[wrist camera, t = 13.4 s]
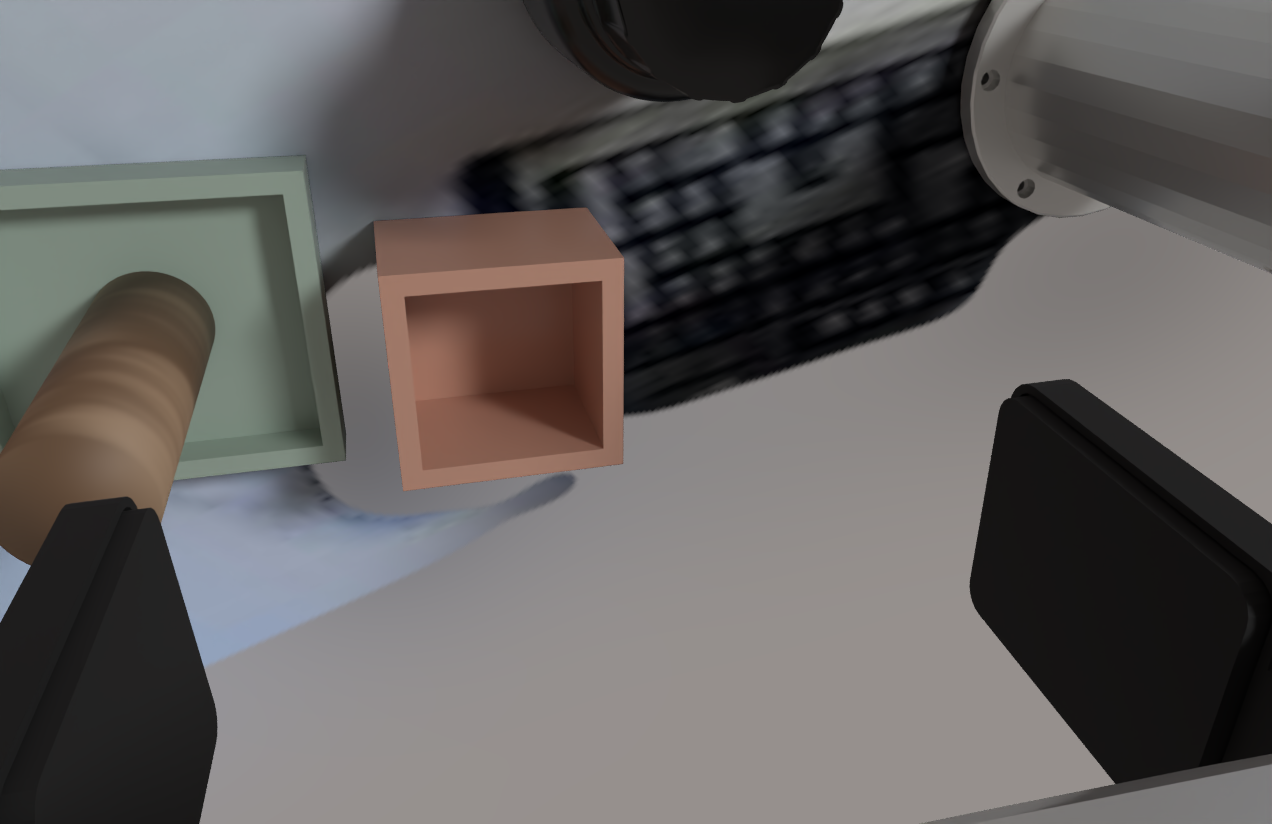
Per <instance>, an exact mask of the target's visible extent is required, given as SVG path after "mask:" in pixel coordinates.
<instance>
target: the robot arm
mask: <svg viewBox="0 0 1272 824" xmlns="http://www.w3.org/2000/svg"><path fill="white" fill-rule="evenodd" d="M982 78H983V79H982ZM981 80H982V81H981ZM960 114H961V121H962V128H963V135H964V140H965V143H966V146H967V148H968V151H969V154H970V157H971V160H972V162H973V164H974V165H975V167H976V169H977V170H978V172H979V173H980V175H981V177H982V178H983V180H984V181H985V182H986V183H987V184H988V185H989V186H990V187H991V188H992V189H993V190H994V191H995V192H996V193H997V194H998V195H999V196H1001V197H1002V198H1004V199H1006V200H1008V201H1009V202H1011V203H1013V204H1015V205H1017V206H1018V207H1021V208H1023V209H1026V210H1028V211H1031V212H1033V213H1036V214H1038V215H1044V216H1051V217H1058V218H1062V217H1076V216H1084V215H1088V214H1091V213H1095V212H1099V211H1102V210H1105V209H1107V208H1110V207H1114V208H1116V209H1119V210H1121V211H1123V212H1126V213H1128V214H1130V215H1133V216H1135V217H1138V218H1140V219H1143V220H1145V221H1147V222H1150V223H1152V224H1154V225H1157V226H1159V227H1162V228H1164V229H1166V230H1169V231H1171V232H1173V233H1176V234H1178V235H1180V236H1183V237H1185V238H1188V239H1190V240H1192V241H1195V242H1197V243H1200V244H1202V245H1204V246H1207V247H1209V248H1211V249H1214V250H1216V251H1218V252H1221V253H1223V254H1226V255H1228V256H1231V257H1233V258H1235V259H1237V260H1240V261H1242V262H1245V263H1247V264H1249V265H1252V266H1254V267H1257V268H1259V269H1261V270H1264V271H1266V272H1269V273H1271V274H1272V0H992V1H991V2H990V4H989V6H988V8H987V10H986V12H985V14H984V15H983V17H982V19H981V21H980V23H979V25H978V27H977V30H976V32H975V35H974V38H973V41H972V44H971V46H970V49H969V52H968V55H967V59H966V64H965V69H964V74H963V79H962V84H961V110H960ZM970 594H971V598H972V602H973V604H974V607H975V609H976V610H977V612H978V613H979V615H980V616H981V617H982V619H983V620H984V621H985V622H986V624H987V625H988V626H989V627H990V629H991V630H992V631H993V632H994V634H995V635H996V636H997V637H998V639H999V640H1000V641H1001V642H1002V643H1003V645H1004V646H1005V647H1006V649H1007V650H1008V651H1009V652H1010V653H1011V655H1012V656H1013V657H1014V658H1015V660H1016V661H1017V662H1018V663H1019V664H1020V666H1021V667H1022V668H1023V670H1024V671H1025V672H1026V673H1027V675H1028V676H1029V677H1030V678H1031V679H1032V681H1033V682H1034V683H1035V684H1036V686H1037V687H1038V688H1039V689H1040V691H1041V692H1042V693H1043V694H1044V696H1045V697H1046V698H1047V699H1048V701H1049V702H1050V703H1051V704H1052V705H1053V707H1054V708H1055V709H1056V711H1057V712H1058V713H1059V714H1060V715H1061V717H1062V718H1063V719H1064V720H1065V722H1066V723H1067V724H1068V725H1069V727H1070V728H1071V729H1072V730H1073V732H1074V733H1075V734H1076V735H1077V737H1078V738H1079V739H1080V740H1081V741H1082V743H1083V744H1084V745H1085V747H1086V748H1087V749H1088V750H1089V751H1090V753H1091V754H1092V755H1093V757H1094V758H1095V759H1096V760H1097V761H1098V763H1099V764H1100V765H1101V766H1102V768H1103V769H1104V770H1105V771H1106V772H1107V774H1108V775H1109V776H1110V778H1111V779H1112V780H1113V781H1114V783H1115V784H1114V785H1109V786H1104V787H1100V788H1094V789H1089V790H1084V791H1079V792H1074V793H1069V794H1064V795H1059V796H1054V797H1049V798H1044V799H1039V800H1034V801H1029V802H1025V803H1019V804H1014V805H1009V806H1004V807H1000V808H994V809H989V810H984V811H980V812H975V813H970V814H965V815H960V816H955V817H950V818H946V819H941V820H936V821H931V822H927V823H921V824H1272V524H1271V523H1270V522H1268V521H1267V520H1265V519H1264V518H1263V517H1261V516H1260V515H1259V514H1257V513H1256V512H1254V511H1253V510H1252V509H1250V508H1249V507H1248V506H1246V505H1245V504H1243V503H1242V502H1241V501H1239V500H1238V499H1236V498H1235V497H1234V496H1232V495H1231V494H1230V493H1228V492H1227V491H1225V490H1224V489H1223V488H1221V487H1220V486H1219V485H1217V484H1216V483H1214V482H1213V481H1212V480H1210V479H1209V478H1207V477H1206V476H1205V475H1203V474H1202V473H1200V472H1199V471H1198V470H1196V469H1195V468H1194V467H1192V466H1191V465H1190V464H1188V463H1186V462H1185V461H1184V460H1182V459H1181V458H1180V457H1179V456H1177V455H1176V454H1174V453H1173V452H1172V451H1170V450H1169V449H1168V448H1166V447H1164V446H1163V445H1162V444H1161V443H1159V442H1158V441H1156V440H1155V439H1154V438H1152V437H1151V436H1150V435H1148V434H1147V433H1145V432H1144V431H1143V430H1141V429H1140V428H1138V427H1137V426H1136V425H1134V424H1133V423H1132V422H1130V421H1129V420H1127V419H1126V418H1125V417H1123V416H1122V415H1121V414H1119V413H1118V412H1116V411H1115V410H1114V409H1112V408H1111V407H1109V406H1108V405H1107V404H1105V403H1104V402H1103V401H1101V400H1100V399H1098V398H1097V397H1096V396H1094V395H1093V394H1092V393H1090V392H1089V391H1087V390H1086V389H1085V388H1083V387H1082V386H1080V385H1079V384H1078V383H1076V382H1074V381H1072V380H1070V379H1062V380H1055V381H1046V382H1039V383H1031V384H1022V385H1020V386H1019V387H1017V388H1016V389H1015V391H1014V392H1013V394H1012V396H1011V398H1008V399H1006V400H1005V401H1004V402H1003V403H1002V405H1001V407H1000V410H999V415H998V420H997V426H996V432H995V438H994V444H993V449H992V455H991V461H990V467H989V473H988V478H987V484H986V491H985V496H984V502H983V507H982V513H981V519H980V526H979V531H978V537H977V542H976V548H975V554H974V560H973V566H972V572H971V577H970ZM216 739H217V715H216V708H215V703H214V700H213V696H212V693H211V690H210V687H209V683H208V680H207V677H206V673H205V670H204V666H203V663H202V660H201V656H200V653H199V650H198V646H197V643H196V640H195V636H194V633H193V630H192V626H191V623H190V620H189V616H188V613H187V610H186V606H185V603H184V600H183V596H182V593H181V590H180V586H179V583H178V580H177V576H176V573H175V570H174V566H173V563H172V560H171V556H170V553H169V550H168V546H167V543H166V540H165V536H164V533H163V530H162V526H161V523H160V520H159V517H158V515H157V513H156V512H155V510H154V509H153V508H143V509H138V508H137V506H136V504H135V503H134V501H133V500H132V499H131V498H130V497H128V496H125V497H117V498H109V499H101V500H93V501H85V502H77V503H70V504H66V505H65V506H64V507H63V508H62V509H61V511H60V512H59V514H58V516H57V518H56V520H55V522H54V524H53V525H52V527H51V529H50V531H49V533H48V535H47V537H46V539H45V540H44V542H43V544H42V546H41V548H40V550H39V552H38V554H37V555H36V557H35V559H34V561H33V563H32V565H31V567H30V568H29V570H28V572H27V574H26V576H25V578H24V580H23V582H22V583H21V585H20V587H19V589H18V591H17V593H16V595H15V596H14V598H13V600H12V602H11V604H10V606H9V608H8V610H7V611H6V613H5V615H4V617H3V619H2V621H1V623H0V824H199V822H200V818H201V812H202V808H203V803H204V798H205V793H206V788H207V784H208V779H209V774H210V769H211V764H212V760H213V755H214V750H215V745H216Z"/></svg>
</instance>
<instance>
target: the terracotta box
mask: <svg viewBox="0 0 1272 824" xmlns="http://www.w3.org/2000/svg"><path fill="white" fill-rule="evenodd" d="M373 222H374V234H375V247H376V260H377V273H378V283H379V291H380V299H381V307H382V316H383V324H384V333H385V342H386V350H387V358H388V367H389V375H390V383H391V392H392V400H393V409H394V417H395V426H396V434H397V443H398V451H399V459H400V468H401V476H402V485H403V491H408V490H417V489H425V488H433V487H441V486H449V485H457V484H464V483H473V482H481V481H489V480H497V479H506V478H513V477H522V476H530V475H538V474H546V473H554V472H562V471H570V470H578V469H586V468H594V467H602V466H611V465H619V464H623V383H624V257H623V256H622V255H621V253H620V252H619V250H618V249H617V248H616V246H615V245H614V244H613V242H612V241H611V240H610V238H609V237H608V236H607V234H606V233H605V232H604V230H603V229H602V228H601V226H600V225H599V224H598V222H597V221H596V220H595V218H594V217H593V216H592V214H591V213H590V212H589V210H588V209H587V208H571V209H556V210H540V211H524V212H508V213H493V214H477V215H461V216H445V217H430V218H414V219H398V220H382V221H373Z"/></svg>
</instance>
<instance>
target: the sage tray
mask: <svg viewBox="0 0 1272 824" xmlns="http://www.w3.org/2000/svg"><path fill="white" fill-rule="evenodd" d="M140 271H151V272H159V273H164V274H168V275H171V276H174V277H176V278H178V279H180V280H182V281H184V282H186V283H187V284H189V285H190V286H192V287H193V288H194V289H195V290H196V291H198V292H199V293H200V294H201V296H202V297H203V298H204V299H205V300H206V302H207V304H208V305H209V307H210V309H211V311H212V314H213V317H214V320H215V339H214V343H213V346H212V350H211V353H210V357H209V360H208V364H207V367H206V370H205V374H204V377H203V381H202V384H201V387H200V391H199V394H198V398H197V401H196V405H195V408H194V411H193V415H192V418H191V422H190V425H189V429H188V432H187V435H186V439H185V442H184V446H183V449H182V452H181V456H180V459H179V463H178V466H177V470H176V473H175V476H174V480H181V479H190V478H198V477H207V476H216V475H224V474H233V473H242V472H250V471H259V470H267V469H276V468H285V467H293V466H302V465H311V464H319V463H328V462H337V461H345V460H346V430H345V424H344V416H343V410H342V403H341V396H340V390H339V382H338V375H337V369H336V362H335V355H334V348H333V341H332V334H331V327H330V320H329V314H328V307H327V300H326V293H325V286H324V279H323V272H322V266H321V259H320V252H319V245H318V238H317V231H316V225H315V218H314V211H313V204H312V197H311V190H310V183H309V177H308V170H307V163H306V156H305V155H299V156H278V157H258V158H237V159H216V160H195V161H175V162H154V163H133V164H112V165H92V166H71V167H50V168H29V169H9V170H0V453H1V452H2V450H3V448H4V447H5V445H6V443H7V442H8V440H9V438H10V437H11V435H12V434H13V432H14V430H15V429H16V427H17V425H18V424H19V422H20V420H21V419H22V417H23V415H24V414H25V412H26V410H27V409H28V407H29V406H30V404H31V402H32V401H33V399H34V397H35V396H36V394H37V392H38V391H39V389H40V387H41V386H42V384H43V382H44V381H45V379H46V378H47V376H48V374H49V373H50V371H51V369H52V368H53V366H54V364H55V363H56V361H57V359H58V358H59V356H60V355H61V353H62V351H63V350H64V348H65V346H66V345H67V343H68V341H69V340H70V338H71V336H72V335H73V333H74V331H75V330H76V328H77V327H78V325H79V323H80V322H81V320H82V318H83V317H84V315H85V313H86V312H87V310H88V308H89V307H90V305H91V304H92V302H93V300H94V299H95V297H96V295H97V294H98V293H99V291H100V290H101V289H102V288H103V287H104V286H105V285H106V284H108V283H109V282H110V281H112V280H114V279H115V278H117V277H120V276H122V275H125V274H129V273H132V272H140Z"/></svg>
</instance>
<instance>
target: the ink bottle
mask: <svg viewBox="0 0 1272 824" xmlns="http://www.w3.org/2000/svg"><path fill="white" fill-rule="evenodd" d="M523 2H524V4H525V6H526V8H527V10H528V12H529V14H530V16H531V18H532V20H533V21H534V23H535V25H536V26H537V28H538V29H539V31H540V32H541V33H542V35H543V36H544V37H545V38H546V39H547V41H548V42H549V43H550V44H551V45H552V46H553V47H554V48H555V49H556V50H557V51H559V52H560V53H561V54H562V55H563V56H565V57H566V58H567V59H569V60H570V61H571V62H572V63H574V64H575V65H576V66H577V67H579V68H580V69H581V70H583V71H584V72H585V73H586V74H588V75H589V76H590V77H592V78H593V79H594V80H596V81H597V82H599V83H600V84H602V85H604V86H606V87H607V88H609V89H611V90H613V91H616V92H618V93H620V94H623V95H626V96H629V97H633V98H637V99H642V100H648V101H658V102H671V101H681V100H688V99H695V100H703V99H707V100H719V101H731V102H733V103H738V102H743V101H745V100H746V99H747V98H750V97H753V96H756V95H759V94H761V93H764V92H767V91H769V90H772V89H778V88H780V87H782V86H783V85H785V84H786V83H787V80H788V79H790V78H791V77H792V76H793V75H794V74H795V73H797V72H798V71H799V70H800V69H801V68H802V67H803V66H804V65H805V64H807V63H808V62H809V61H810V60H813V59H814V58H815V57H816V56H817V55H818V53H819V52H820V50H821V46H822V44H823V42H824V40H825V39H826V37H827V35H828V33H829V31H830V30H831V28H832V26H833V24H834V22H835V20H836V18H838V17H839V15H840V13H841V11H842V8H843V0H523Z"/></svg>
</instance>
